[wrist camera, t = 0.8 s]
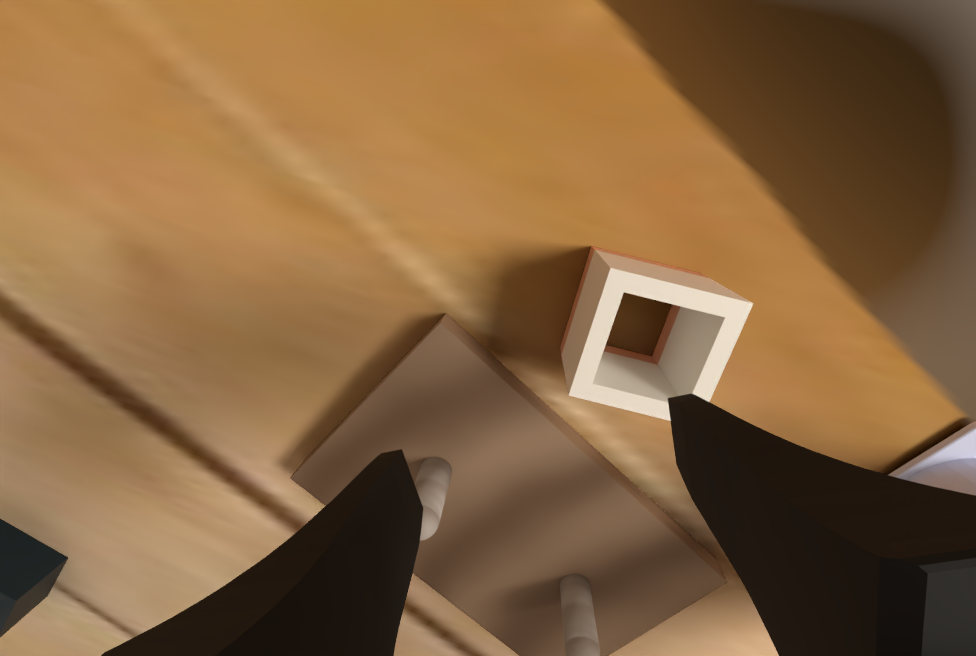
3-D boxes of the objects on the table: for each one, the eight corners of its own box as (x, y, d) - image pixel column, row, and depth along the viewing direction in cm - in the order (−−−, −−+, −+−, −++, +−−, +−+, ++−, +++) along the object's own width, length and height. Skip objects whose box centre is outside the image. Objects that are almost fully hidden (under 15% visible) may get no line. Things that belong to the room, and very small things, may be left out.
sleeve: (700, 273, 20) (753, 303, 16) (661, 373, 22) (697, 427, 17) (591, 246, 20) (610, 267, 16) (559, 347, 22) (568, 395, 17)
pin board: (716, 558, 25) (768, 666, 20) (557, 660, 28) (564, 776, 23) (445, 313, 22) (418, 359, 16) (303, 461, 25) (241, 540, 20)
